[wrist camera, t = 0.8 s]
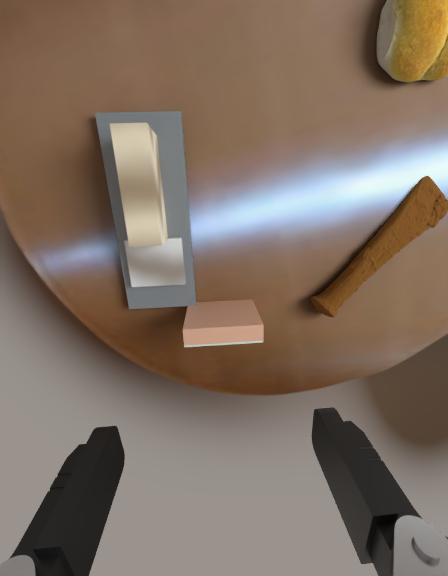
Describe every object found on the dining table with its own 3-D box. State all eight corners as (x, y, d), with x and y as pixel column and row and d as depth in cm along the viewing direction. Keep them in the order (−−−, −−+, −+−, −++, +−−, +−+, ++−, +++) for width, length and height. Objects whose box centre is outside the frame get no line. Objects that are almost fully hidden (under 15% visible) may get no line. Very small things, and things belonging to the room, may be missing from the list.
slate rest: (99, 116, 24) (94, 112, 23) (181, 114, 24) (180, 110, 23) (131, 306, 30) (129, 309, 29) (196, 302, 31) (196, 305, 30)
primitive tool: (423, 173, 28) (453, 170, 24) (449, 206, 29) (480, 207, 26) (302, 297, 32) (314, 308, 28) (330, 321, 33) (344, 334, 30)
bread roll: (456, 81, 25) (501, 58, 21) (370, 90, 25) (399, 69, 21) (475, -30, 22) (530, -79, 18) (378, -21, 22) (413, -68, 18)
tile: (188, 302, 31) (182, 329, 24) (251, 299, 31) (263, 324, 24) (189, 317, 31) (184, 347, 25) (251, 313, 32) (263, 342, 25)
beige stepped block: (109, 137, 24) (90, 124, 20) (172, 135, 24) (165, 122, 20) (133, 284, 28) (122, 297, 25) (185, 282, 29) (182, 294, 25)
